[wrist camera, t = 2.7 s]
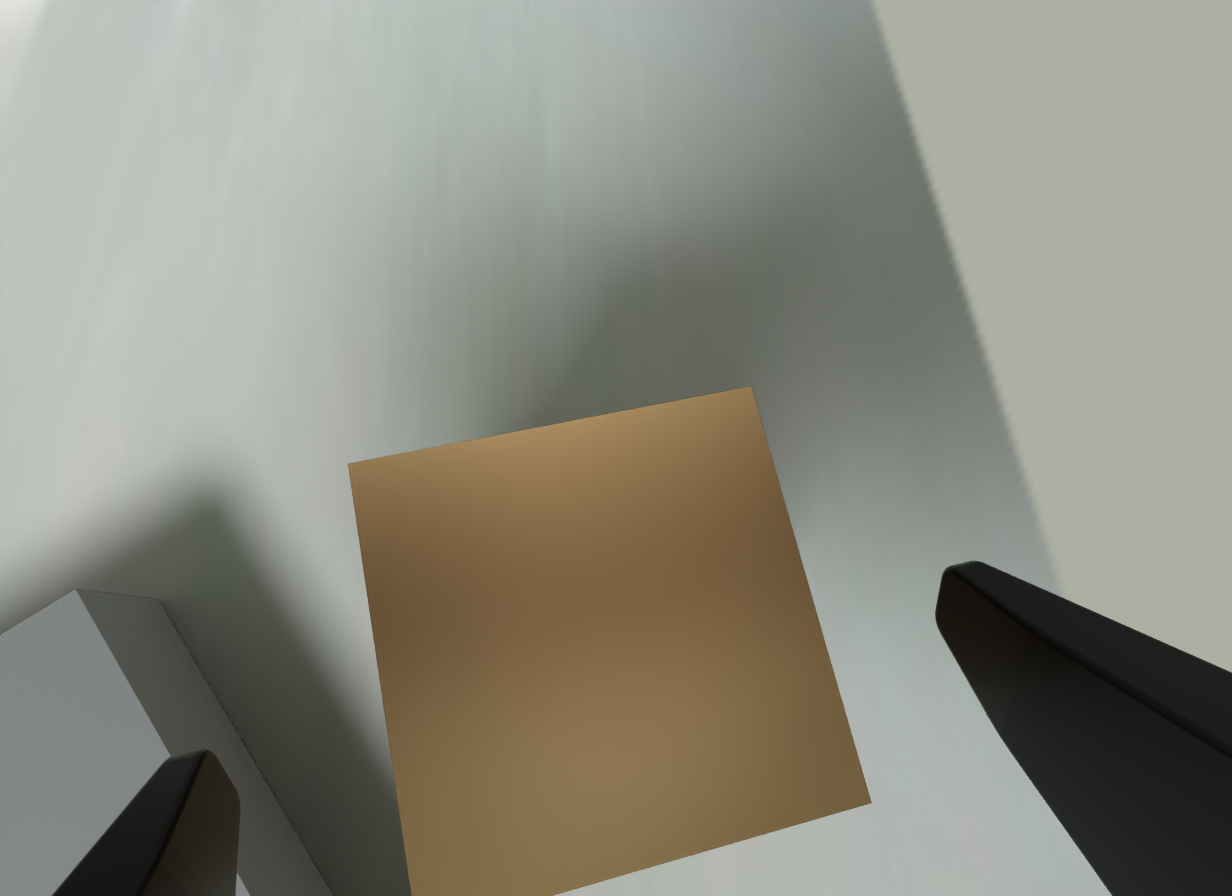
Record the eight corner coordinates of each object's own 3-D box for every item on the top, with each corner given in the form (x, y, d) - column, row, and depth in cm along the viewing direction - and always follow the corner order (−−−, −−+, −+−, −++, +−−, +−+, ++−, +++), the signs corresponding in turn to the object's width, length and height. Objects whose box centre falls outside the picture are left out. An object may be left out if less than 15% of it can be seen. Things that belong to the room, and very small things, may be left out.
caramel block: (702, 721, 17) (871, 802, 8) (485, 778, 16) (417, 935, 7) (650, 510, 18) (751, 385, 9) (446, 554, 17) (347, 464, 9)
